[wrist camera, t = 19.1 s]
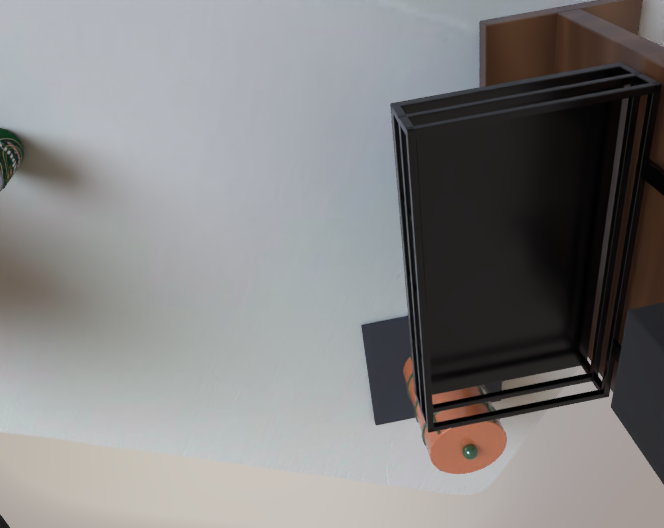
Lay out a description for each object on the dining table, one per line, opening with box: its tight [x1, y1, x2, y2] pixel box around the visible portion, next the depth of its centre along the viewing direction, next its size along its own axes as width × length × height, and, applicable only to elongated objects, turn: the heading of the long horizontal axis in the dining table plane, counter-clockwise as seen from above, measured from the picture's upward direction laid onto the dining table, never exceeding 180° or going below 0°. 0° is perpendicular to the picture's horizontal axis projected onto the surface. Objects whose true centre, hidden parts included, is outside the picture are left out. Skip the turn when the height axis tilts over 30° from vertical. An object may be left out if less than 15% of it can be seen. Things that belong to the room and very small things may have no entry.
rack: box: [480, 0, 664, 392], centre depth 36 cm, size 10×21×23 cm, turn 8°
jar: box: [403, 355, 507, 474], centre depth 51 cm, size 6×6×10 cm
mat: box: [362, 316, 502, 425], centre depth 55 cm, size 12×12×1 cm
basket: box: [390, 62, 664, 433], centre depth 31 cm, size 14×20×13 cm
